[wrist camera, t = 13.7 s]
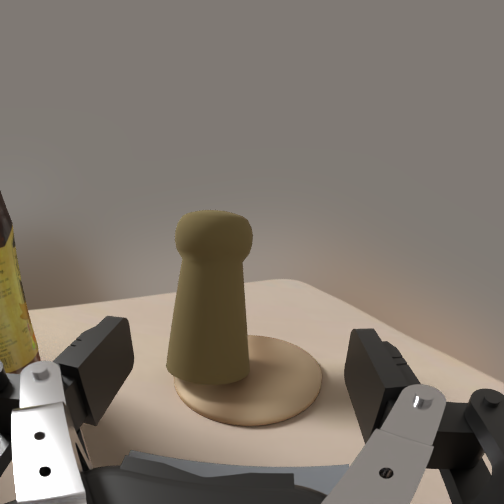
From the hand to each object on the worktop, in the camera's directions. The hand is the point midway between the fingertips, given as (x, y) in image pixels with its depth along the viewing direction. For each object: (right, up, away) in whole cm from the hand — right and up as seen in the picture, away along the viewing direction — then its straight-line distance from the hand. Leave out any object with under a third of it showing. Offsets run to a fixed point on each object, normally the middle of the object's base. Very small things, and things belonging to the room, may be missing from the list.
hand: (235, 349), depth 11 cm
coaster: (0, -6, +12) cm, 13 cm away
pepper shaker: (-3, -5, +11) cm, 13 cm away
